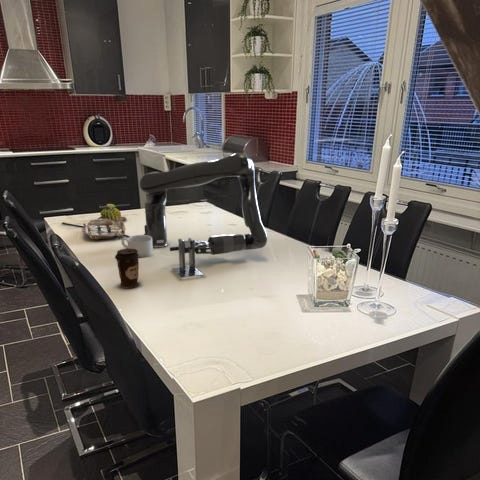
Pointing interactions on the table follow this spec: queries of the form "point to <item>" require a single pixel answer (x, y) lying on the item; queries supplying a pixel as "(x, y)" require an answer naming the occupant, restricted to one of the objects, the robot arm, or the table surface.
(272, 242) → the table surface
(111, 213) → the cactus
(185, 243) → the lever
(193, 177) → the robot arm
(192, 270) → the bracket
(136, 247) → the teacup
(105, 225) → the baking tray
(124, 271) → the coffee cup
